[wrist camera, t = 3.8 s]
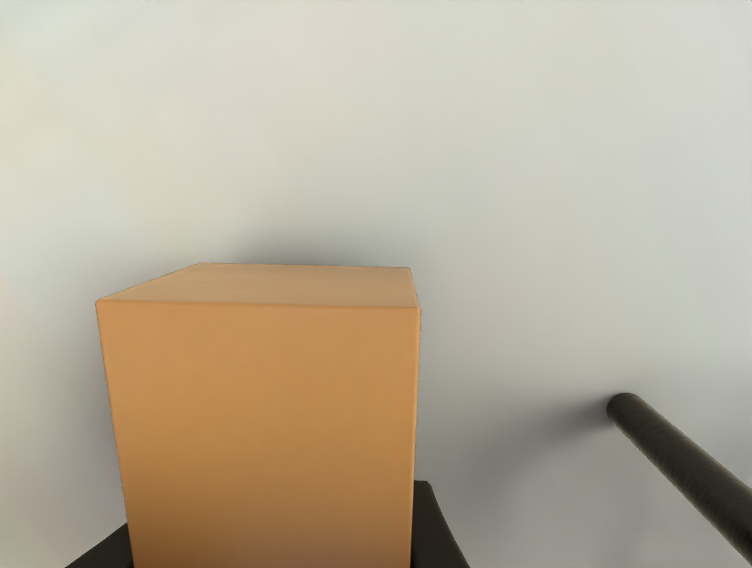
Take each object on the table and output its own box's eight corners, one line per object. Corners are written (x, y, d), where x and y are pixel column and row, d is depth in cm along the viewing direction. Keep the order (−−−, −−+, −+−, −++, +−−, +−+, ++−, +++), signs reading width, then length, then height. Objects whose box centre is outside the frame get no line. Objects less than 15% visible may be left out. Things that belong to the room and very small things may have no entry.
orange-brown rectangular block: (394, 645, 12) (396, 892, 8) (252, 636, 12) (177, 875, 8) (407, 256, 9) (422, 308, 5) (225, 252, 10) (92, 299, 5)
